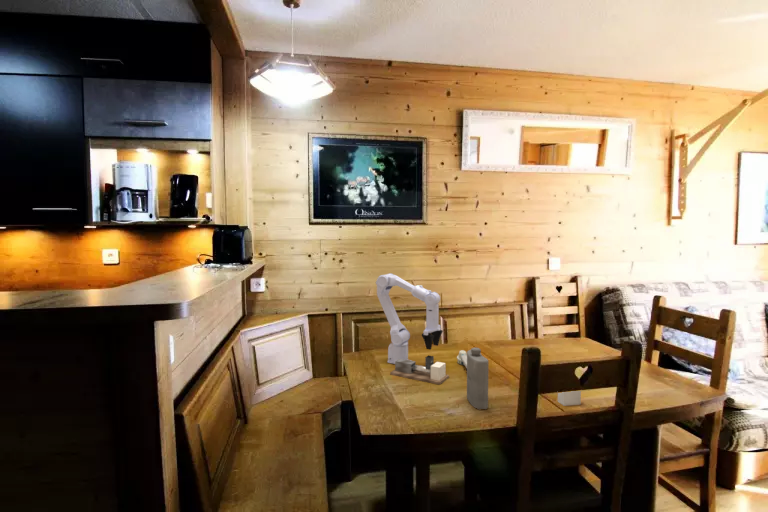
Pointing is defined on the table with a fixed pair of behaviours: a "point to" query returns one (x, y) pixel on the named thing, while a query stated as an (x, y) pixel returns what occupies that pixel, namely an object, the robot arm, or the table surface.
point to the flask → (477, 379)
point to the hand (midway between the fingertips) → (432, 347)
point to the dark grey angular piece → (424, 369)
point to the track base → (413, 372)
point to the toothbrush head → (462, 358)
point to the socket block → (438, 371)
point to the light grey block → (569, 398)
